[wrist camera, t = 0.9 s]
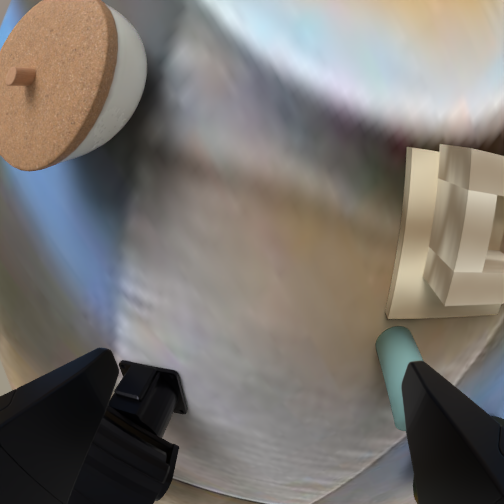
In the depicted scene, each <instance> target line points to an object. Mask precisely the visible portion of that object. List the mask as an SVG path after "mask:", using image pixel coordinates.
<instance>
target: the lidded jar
mask: <svg viewBox="0 0 504 504" xmlns="http://www.w3.org/2000/svg"><path fill="white" fill-rule="evenodd" d="M146 77H147V57H146V53H145V49H144V45H143V42H142V40H141V38H140V36H139V34H138V32H137V31H136V30H135V28H134V27H133V26H132V25H131V23H130V22H129V21H128V20H127V19H126V18H125V17H124V16H123V15H121V14H120V13H119V12H117V11H116V10H115V9H113V8H112V7H110V6H108V5H107V4H105V3H104V2H102V1H101V0H43V1H41V2H40V3H38V4H37V5H36V6H34V7H33V8H32V9H31V10H30V11H29V12H28V13H27V14H26V15H24V17H23V18H22V19H21V20H20V21H19V22H18V23H17V25H16V26H15V27H14V29H13V30H12V32H11V33H10V35H9V36H8V38H7V40H6V41H5V43H4V45H3V47H2V49H1V51H0V155H1V156H2V157H3V158H4V159H5V160H6V161H7V162H8V163H9V164H10V165H12V166H13V167H15V168H17V169H20V170H23V171H36V170H41V169H45V168H47V167H50V166H53V165H56V164H57V163H61V162H65V161H68V160H71V159H74V158H77V157H80V156H82V155H85V154H87V153H89V152H91V151H93V150H94V149H96V148H98V147H100V146H102V145H103V144H105V143H106V142H107V141H109V140H110V139H111V138H112V137H114V136H115V135H116V134H117V133H118V132H119V131H120V130H121V129H122V128H123V127H124V126H125V124H126V123H127V122H128V121H129V119H130V118H131V116H132V115H133V113H134V111H135V110H136V108H137V106H138V104H139V101H140V99H141V97H142V94H143V90H144V87H145V82H146Z"/></svg>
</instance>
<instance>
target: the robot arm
mask: <svg viewBox="0 0 504 504" xmlns="http://www.w3.org/2000/svg"><path fill="white" fill-rule="evenodd" d="M119 367H120V369H121V372H122V375H123V378H122V380H121V381H120V383H119V384H118V386H117V387H116V389H115V391H114V392H115V393H114V394H113V396H112V398H111V399H110V397H111V395H112V392H113V389H114V386H115V383H116V380H117V377H118V374H119V369H118V366H117V363H116V361H115V358H114V356H113V353H112V351H111V350H109V349H106V348H97V349H95V350H93V351H91V352H89V353H87V354H85V355H83V356H81V357H79V358H77V359H75V360H73V361H71V362H69V363H67V364H65V365H63V366H61V367H59V368H57V369H55V370H53V371H51V372H49V373H47V374H45V375H43V376H41V377H39V378H37V379H35V380H33V381H31V382H29V383H27V384H25V385H23V386H21V387H19V388H17V389H15V390H13V391H11V392H9V393H7V394H4V395H3V396H0V504H153V503H154V501H158V500H160V499H161V498H162V497H163V496H164V494H165V493H166V491H167V490H168V488H169V486H170V484H171V481H172V478H173V474H174V469H175V464H176V459H177V455H178V450H179V446H177V445H175V444H172V443H170V442H168V441H166V440H164V439H162V437H163V434H164V432H165V430H166V428H167V425H168V423H169V421H170V419H171V416H172V414H173V412H174V413H179V414H186V412H187V407H186V403H185V399H184V395H183V392H182V388H181V384H180V380H179V375H178V373H177V372H175V371H173V370H168V369H163V368H157V367H152V366H147V365H142V364H137V363H133V362H128V361H124V360H122V361H121V362H120V363H119ZM401 389H402V397H403V406H404V415H405V425H406V433H407V439H408V444H409V449H410V454H411V459H412V465H413V471H414V477H415V483H416V490H417V497H418V504H504V427H503V426H500V424H499V423H498V422H497V421H496V420H495V419H493V418H492V417H491V416H490V415H489V414H487V413H486V412H485V411H484V410H483V409H481V408H480V407H479V406H478V405H477V404H475V403H474V402H473V401H472V400H471V399H469V398H468V397H467V396H466V395H465V394H463V393H462V392H461V391H460V390H458V389H457V388H456V387H455V386H454V385H452V384H451V383H450V382H449V381H447V380H446V379H445V378H444V377H443V376H441V375H440V374H439V373H438V372H436V371H435V370H434V369H433V368H431V367H430V366H429V365H428V364H426V363H425V362H424V361H421V360H420V361H411V362H410V363H409V364H408V366H407V369H406V372H405V375H404V378H403V380H402V386H401ZM109 400H110V401H109Z"/></svg>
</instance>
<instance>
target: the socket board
mask: <svg viewBox="0 0 504 504" xmlns="http://www.w3.org/2000/svg"><path fill="white" fill-rule="evenodd" d="M501 304H504V156H501V155H497V154H493V153H489V152H485V151H481V150H476V149H472V148H465V147H458V146H451V145H442V144H440V152H437V151H431V150H424V149H418V148H410V147H407V154H406V172H405V186H404V197H403V207H402V216H401V224H400V232H399V239H398V246H397V252H396V259H395V264H394V270H393V276H392V281H391V286H390V291H389V296H388V300H387V305H386V309H385V313H386V315H387V318H388V319H417V318H448V317H468V316H484V315H497V314H498V312H499V309H500V307H501Z"/></svg>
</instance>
